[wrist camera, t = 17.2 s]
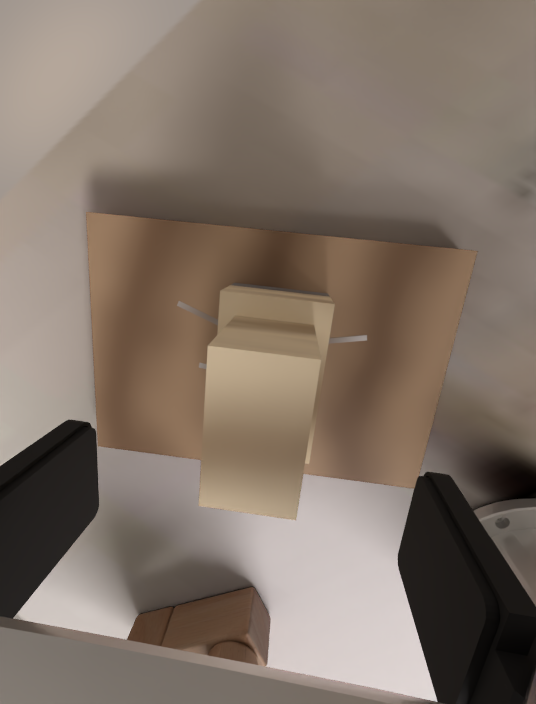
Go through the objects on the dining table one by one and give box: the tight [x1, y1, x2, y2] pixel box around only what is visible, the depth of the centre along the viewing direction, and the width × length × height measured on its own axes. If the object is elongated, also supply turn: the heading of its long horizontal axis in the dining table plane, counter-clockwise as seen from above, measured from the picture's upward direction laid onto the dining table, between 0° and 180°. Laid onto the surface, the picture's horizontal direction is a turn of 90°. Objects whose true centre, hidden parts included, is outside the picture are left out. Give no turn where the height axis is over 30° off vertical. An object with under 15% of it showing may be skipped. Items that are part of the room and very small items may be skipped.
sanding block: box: [199, 283, 335, 520], centre depth 16 cm, size 8×5×9 cm, turn 174°
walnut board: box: [86, 212, 478, 489], centre depth 21 cm, size 20×14×2 cm
